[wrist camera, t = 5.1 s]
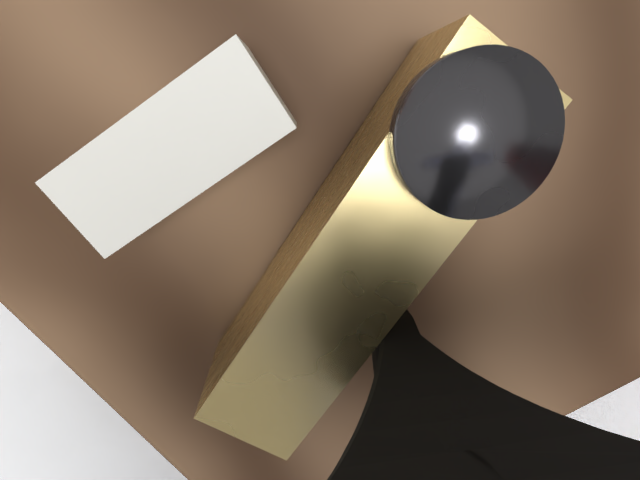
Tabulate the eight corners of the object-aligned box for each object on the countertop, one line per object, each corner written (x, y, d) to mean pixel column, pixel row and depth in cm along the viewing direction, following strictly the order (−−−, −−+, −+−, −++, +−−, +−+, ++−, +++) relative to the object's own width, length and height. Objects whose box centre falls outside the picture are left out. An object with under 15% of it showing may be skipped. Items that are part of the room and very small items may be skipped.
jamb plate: (278, 536, 16) (276, 563, 15) (-149, 117, 10) (-194, 119, 10) (719, 305, 14) (749, 320, 13) (475, -407, 8) (499, -474, 7)
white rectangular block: (138, 230, 11) (104, 258, 9) (83, 167, 10) (34, 182, 8) (296, 122, 10) (296, 128, 8) (248, 47, 9) (235, 34, 8)
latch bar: (411, 34, 9) (475, -3, 6) (501, 104, 10) (604, 106, 7) (212, 338, 12) (177, 435, 8) (294, 380, 12) (293, 486, 9)
